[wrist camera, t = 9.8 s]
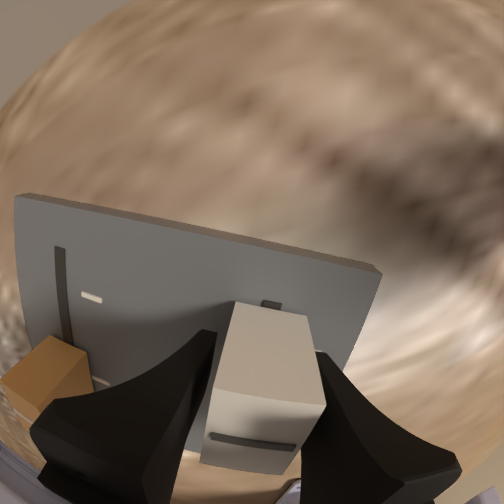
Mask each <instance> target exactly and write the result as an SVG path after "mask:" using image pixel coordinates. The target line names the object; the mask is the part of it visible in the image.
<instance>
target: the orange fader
mask: <svg viewBox="0 0 504 504" xmlns="http://www.w3.org/2000/svg"><path fill="white" fill-rule="evenodd" d="M0 383H1V385H2V387H3V389H4V392H5V394H6V396H7V398H8V400H9V402H10V404H11V406H12V408H13V410H14V412H15V413H16V415H17V417H18V419H19V420H20V422H21V424H22V426H23V427H24V429H26V430H27V431H28V432H30V431H29V428H30V427H31V425H32V424H33V423H34V422H35V420H36V419H37V418H38V417H39V415H40V414H41V413H42V411H43V410H44V409H45V408H46V407H47V406H48V405H49V404H50V403H51V402H52V401H53V400H54V399H57V398H65V397H72V396H79V395H84V394H89V393H93V392H94V389H93V385H92V380H91V375H90V370H89V364H88V358H87V352H85V351H82V350H80V349H78V348H76V347H74V346H72V345H69V344H67V343H65V342H63V341H61V340H59V339H57V338H55V337H53V336H51V335H49V336H48V337H47V338H46V339H44V340H43V341H42V342H41V343H40V344H39V345H37V346H36V347H35V348H34V349H33V350H32V351H31V352H30V353H28V354H27V355H26V356H25V357H24V358H23V359H22V360H21V361H20V362H18V363H17V364H16V365H15V366H14V367H13V368H12V369H11V370H10V371H9V372H8V373H7V374H6V375H4V376H3V377H2V378H1V379H0Z"/></svg>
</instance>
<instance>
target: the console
mask: <svg viewBox="0 0 504 504" xmlns="http://www.w3.org/2000/svg"><path fill="white" fill-rule="evenodd" d="M14 233H15V253H16V265H17V274H18V283H19V290H20V296H21V302H22V308H23V313H24V318H25V323H26V328H27V332H28V336H29V340H30V344H31V348H32V350H33V349H34V348H35V347H36V346H37V345H39V344H40V343H41V342H42V341H43V340H44V339H46V338H47V337H48V336H49V335H51V336H53V337H55V338H57V339H59V340H61V341H63V342H65V343H67V344H69V345H72V346H74V347H76V348H78V349H80V350H82V351H85V352H87V358H88V364H89V370H90V375H91V380H92V385H93V389H94V392H97V391H100V390H104V389H107V388H110V387H113V386H116V385H118V384H121V383H123V382H126V381H128V380H130V379H132V378H135V377H137V376H139V375H141V374H142V373H144V372H146V371H148V370H150V369H151V368H153V367H155V366H156V365H158V364H159V363H161V362H162V361H164V360H165V359H167V358H168V357H169V356H171V355H172V354H173V353H175V352H176V351H177V350H178V349H180V348H181V347H182V346H183V345H184V344H186V343H187V342H188V341H189V340H190V339H191V338H192V337H193V336H194V335H195V334H196V333H197V332H198V331H199V330H201V329H205V330H209V331H213V332H218V334H217V340H216V345H215V351H214V357H213V362H212V368H211V373H210V377H209V381H208V384H207V388H206V392H205V395H204V397H203V400H202V402H201V405H200V407H199V410H198V412H197V415H196V417H195V419H194V422H193V424H192V427H191V429H190V432H189V434H188V437H187V440H186V443H185V446H184V449H186V450H189V451H193V452H197V453H201V451H202V445H203V439H204V434H205V428H206V422H207V417H208V411H209V406H210V400H211V395H212V389H213V385H214V381H215V378H216V374H217V370H218V366H219V362H220V359H221V355H222V351H223V347H224V344H225V340H226V336H227V332H228V329H229V325H230V321H231V317H232V314H233V310H234V306H235V303H236V302H241V303H245V304H250V305H255V306H259V307H264V308H269V309H274V310H279V311H284V312H289V313H294V314H300V315H305V316H307V319H308V323H309V328H310V332H311V336H312V341H313V345H314V349H315V351H318V352H325V353H327V354H328V355H329V356H330V358H331V359H332V360H333V361H334V362H335V364H336V365H337V366H338V367H339V368H340V370H341V371H343V369H344V367H345V365H346V363H347V361H348V358H349V356H350V354H351V352H352V350H353V348H354V345H355V343H356V341H357V339H358V336H359V334H360V332H361V329H362V327H363V325H364V322H365V320H366V317H367V315H368V312H369V310H370V307H371V305H372V302H373V299H374V297H375V294H376V291H377V288H378V286H379V283H380V280H381V277H382V273H381V272H379V271H378V270H377V269H376V268H375V267H374V266H373V265H371V264H366V263H362V262H358V261H354V260H349V259H345V258H341V257H336V256H332V255H328V254H323V253H319V252H314V251H310V250H306V249H301V248H297V247H292V246H288V245H283V244H279V243H274V242H270V241H265V240H260V239H256V238H251V237H247V236H242V235H237V234H233V233H228V232H223V231H219V230H214V229H209V228H205V227H200V226H195V225H190V224H185V223H181V222H176V221H171V220H166V219H161V218H156V217H151V216H146V215H141V214H136V213H131V212H126V211H121V210H116V209H111V208H106V207H101V206H96V205H91V204H85V203H80V202H75V201H70V200H64V199H59V198H53V197H48V196H43V195H37V194H32V193H27V194H21V195H16V196H15V202H14Z"/></svg>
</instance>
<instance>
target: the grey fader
mask: <svg viewBox="0 0 504 504" xmlns="http://www.w3.org/2000/svg"><path fill="white" fill-rule="evenodd" d="M325 407H326V400H325V396H324V391H323V386H322V381H321V377H320V372H319V367H318V363H317V358H316V354H315V349H314V345H313V341H312V336H311V332H310V328H309V323H308V319H307V316H305V315H300V314H294V313H289V312H284V311H279V310H274V309H269V308H264V307H259V306H255V305H250V304H245V303H241V302H236V303H235V306H234V310H233V314H232V317H231V321H230V325H229V329H228V332H227V336H226V340H225V344H224V347H223V351H222V355H221V359H220V362H219V366H218V370H217V374H216V378H215V381H214V385H213V389H212V395H211V400H210V406H209V411H208V417H207V422H206V428H205V434H204V439H203V445H202V451H201V456H200V462H199V463H203V464H208V465H212V466H217V467H223V468H228V469H234V470H240V471H247V472H255V473H263V474H274V475H282V474H283V473H284V472H285V470H286V469H287V467H288V466H289V465H290V463H291V462H292V460H293V459H294V457H295V456H296V454H297V453H298V451H299V450H300V448H301V447H302V445H303V444H304V442H305V440H306V439H307V437H308V436H309V434H310V432H311V431H312V429H313V428H314V426H315V424H316V423H317V421H318V419H319V417H320V416H321V414H322V412H323V411H324V409H325Z"/></svg>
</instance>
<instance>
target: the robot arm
mask: <svg viewBox="0 0 504 504" xmlns="http://www.w3.org/2000/svg"><path fill="white" fill-rule="evenodd" d="M217 334H218V332H213V331H209V330H205V329H201V330H199V331H198V332H197V333H196V334H195V335H194V336H193V337H192V338H191V339H190V340H189V341H188V342H187V343H186V344H184V345H183V346H182V347H181V348H180V349H178V350H177V351H176V352H175V353H173V354H172V355H171V356H169V357H168V358H167V359H165V360H164V361H162V362H161V363H159V364H158V365H156V366H155V367H153V368H151V369H150V370H148V371H146V372H144V373H142V374H141V375H139V376H137V377H135V378H132V379H130V380H128V381H126V382H123V383H121V384H118V385H116V386H113V387H110V388H107V389H104V390H100V391H97V392H93V393H89V394H84V395H79V396H72V397H65V398H57V399H54V400H53V401H52V402H51V403H50V404H49V405H48V406H47V407H46V408H45V409H44V410H43V411H42V413H41V414H40V415H39V417H38V418H37V419H36V420H35V422H34V423H33V424H32V425H31V427H30V428H29V431H30V436H31V438H32V440H33V442H34V443H35V445H36V446H37V448H38V449H39V451H40V452H41V454H42V455H43V457H44V458H45V460H46V461H47V463H46V464H45V466H44V468H43V469H42V471H40V470H38V469H37V468H35V467H34V466H33V465H31V464H30V463H28V462H27V461H26V460H24V459H23V458H22V457H20V456H19V455H18V454H17V453H15V452H14V451H13V450H12V449H10V448H9V447H8V446H7V445H6V444H4V443H3V442H2V441H1V440H0V504H169V503H170V499H171V495H172V491H173V487H174V483H175V480H176V476H177V472H178V468H179V464H180V461H181V457H182V453H183V450H184V446H185V443H186V440H187V437H188V434H189V432H190V429H191V427H192V424H193V422H194V419H195V417H196V415H197V412H198V410H199V407H200V405H201V402H202V400H203V397H204V395H205V392H206V388H207V384H208V381H209V377H210V373H211V368H212V362H213V357H214V351H215V345H216V340H217ZM315 354H316V358H317V363H318V367H319V372H320V377H321V381H322V386H323V391H324V396H325V400H326V407H325V409H324V411H323V412H322V414H321V416H320V417H319V419H318V421H317V423H316V424H315V426H314V428H313V429H312V431H311V432H310V434H309V436H308V437H307V439H306V440H305V442H304V444H303V445H302V447H301V461H302V462H301V480H297V481H295V482H294V483H293V484H292V485H291V486H290V488H289V489H288V490H287V491H286V492H285V493H284V494H283V495H282V497H281V498H280V499H279V500H278V501H277V502H276V503H275V504H435V503H434V500H433V499H435V498H436V497H437V496H439V495H440V494H441V493H443V492H444V491H445V490H446V489H448V488H449V487H450V486H451V485H452V484H453V483H455V482H456V481H457V479H458V478H459V477H460V475H461V473H462V469H461V467H460V464H459V462H458V460H457V458H456V456H455V454H454V453H453V452H451V451H448V450H445V449H443V448H440V447H438V446H435V445H432V444H430V443H428V442H426V441H424V440H422V439H420V438H418V437H416V436H415V435H413V434H411V433H409V432H408V431H406V430H405V429H403V428H402V427H400V426H399V425H397V424H396V423H394V422H393V421H392V420H390V419H389V418H388V417H386V416H385V415H384V414H383V413H382V412H380V411H379V410H378V409H377V408H376V407H375V406H373V405H372V404H371V403H370V402H369V401H368V400H367V399H366V398H365V397H364V396H363V395H362V394H361V393H360V392H359V391H358V389H357V388H356V387H355V386H354V385H353V384H352V383H351V382H350V380H349V379H348V378H347V377H346V376H345V375H344V373H343V372H342V371H341V370H340V368H339V367H338V366H337V365H336V364H335V362H334V361H333V360H332V359H331V358H330V356H329V355H328V354H327V353H325V352H318V351H315ZM465 504H502V502H501V500H500V497H499V495H498V493H497V490H496V488H495V486H493V487H491V488H489V489H487V490H485V491H483V492H481V493H480V494H478V495H476V496H475V497H473V498H472V499H470V500H469V501H468V502H466V503H465Z"/></svg>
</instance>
